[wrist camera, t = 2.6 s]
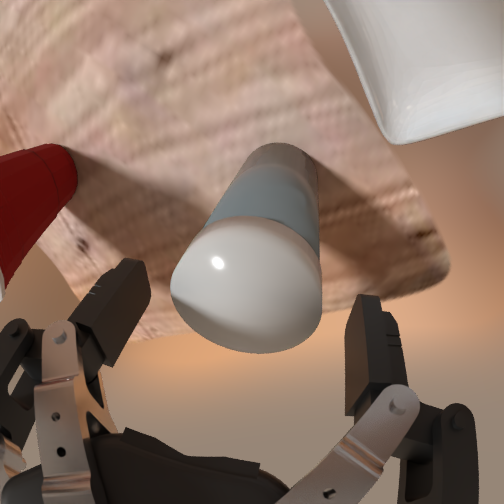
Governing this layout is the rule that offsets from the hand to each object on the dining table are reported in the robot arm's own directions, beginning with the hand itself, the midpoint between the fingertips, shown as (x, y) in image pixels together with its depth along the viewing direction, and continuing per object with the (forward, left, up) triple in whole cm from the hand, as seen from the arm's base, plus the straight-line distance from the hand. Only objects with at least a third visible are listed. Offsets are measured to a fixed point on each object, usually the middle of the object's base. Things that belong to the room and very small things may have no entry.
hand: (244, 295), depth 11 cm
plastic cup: (0, -20, -11) cm, 23 cm away
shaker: (0, 0, -11) cm, 11 cm away
